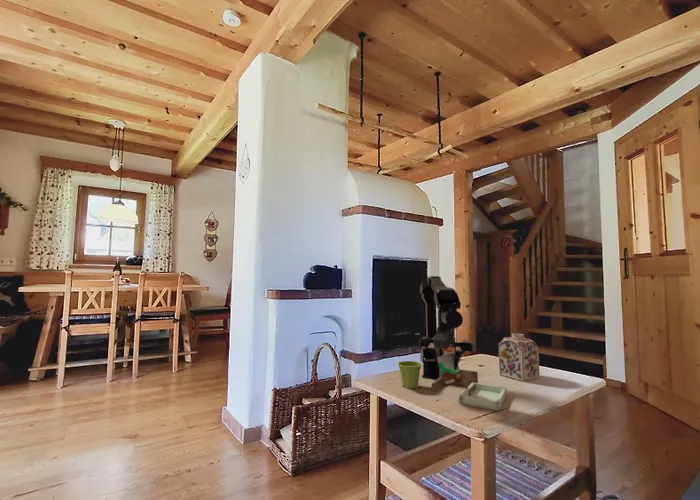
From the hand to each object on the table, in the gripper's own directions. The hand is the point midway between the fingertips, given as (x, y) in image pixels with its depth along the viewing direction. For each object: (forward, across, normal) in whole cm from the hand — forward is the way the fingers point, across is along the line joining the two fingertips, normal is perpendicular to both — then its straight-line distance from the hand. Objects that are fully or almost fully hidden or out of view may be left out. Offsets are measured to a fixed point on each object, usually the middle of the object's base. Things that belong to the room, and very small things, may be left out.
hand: (447, 368), depth 123 cm
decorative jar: (+10, +19, +42) cm, 47 cm away
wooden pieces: (+10, 0, +10) cm, 14 cm away
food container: (+5, +3, +2) cm, 6 cm away
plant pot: (+10, -16, +5) cm, 20 cm away
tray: (+10, +12, +5) cm, 16 cm away
